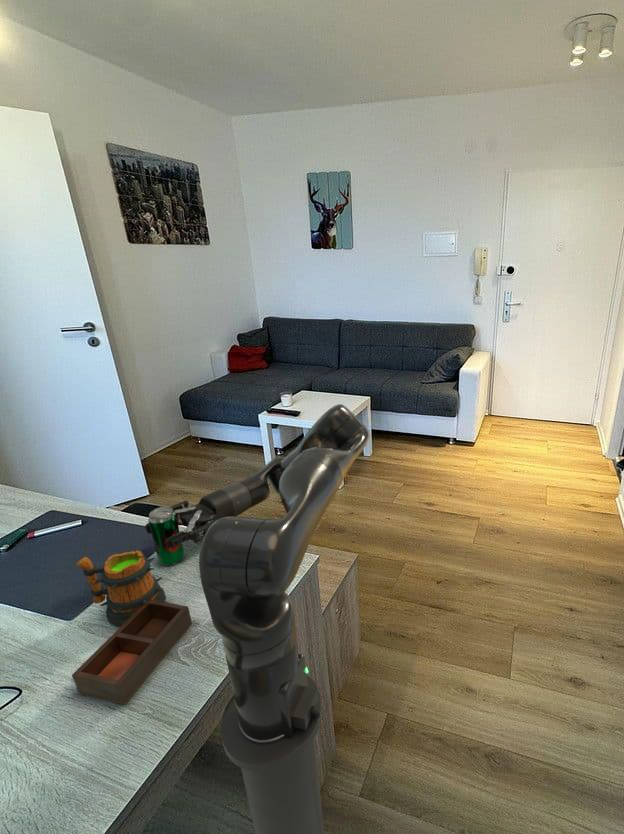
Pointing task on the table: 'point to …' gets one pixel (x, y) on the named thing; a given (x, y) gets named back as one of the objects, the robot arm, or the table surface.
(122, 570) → the mug
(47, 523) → the table surface
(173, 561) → the soda can
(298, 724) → the robot arm
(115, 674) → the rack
